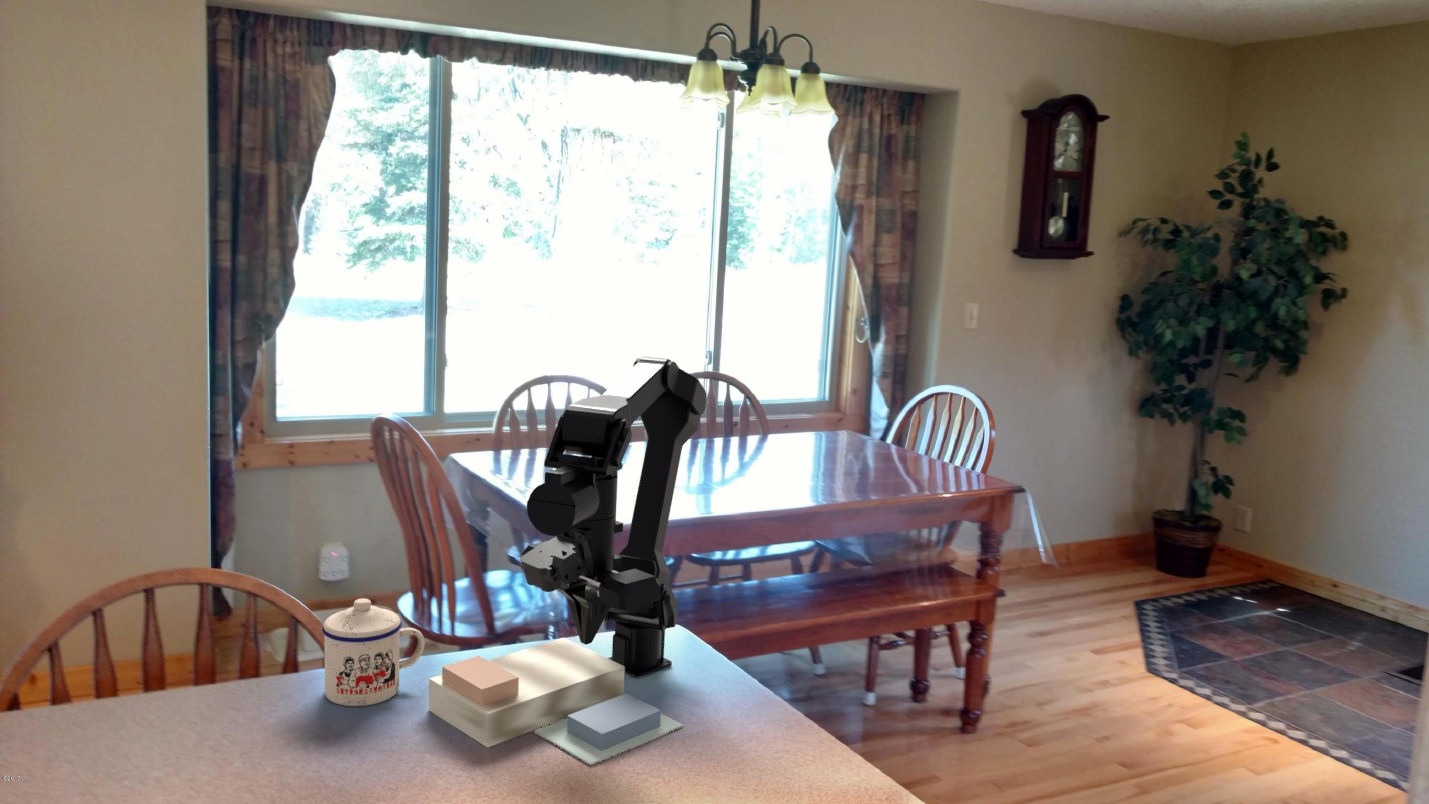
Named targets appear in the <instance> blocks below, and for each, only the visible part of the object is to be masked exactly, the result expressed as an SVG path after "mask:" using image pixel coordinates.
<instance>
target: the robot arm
mask: <svg viewBox="0 0 1429 804" xmlns="http://www.w3.org/2000/svg"><path fill="white" fill-rule="evenodd" d="M705 389H706V388H704V386H703V385H702V383H701V381H700V380H699V379H698V378H697V377H695V376H693V375H692V374H690V373H689V372H686V371H684V370H683V369H682V368H680V367H679V366H678V364H677V363H676V362H675V361H673V360H671V359H669V358H661V357H650V356H642V357H641V358H636V359H635V361H634V363H633V365H632V367H631V368H630V369H629V371H627V372H626V373H625V374H623V376H621V377H620V378H619V379H618V380H617V381H616V382H615V383H613V385H611V386H610V387H609V388H608V389H607V390H605V392H604V393H602V394H601V395H598V396H593V397H587V398H586V397H585V398H581V399H580V400H577V401H575V402H573V403H571V404H569V405H568V406H567V407H566V409H565V410H564V411H563V413H562V414H561V415H560V417H559V419H558V422H557V425H556V427H555V430H554V434H553V436H552V439H551V442H550V445H549V447H548V450H547V451H548V452H547V454H546V457H545V459H544V463H543V466H544V468H550V470H548V471H545V473H544V483H542V484H540V485H537V486H536V487H535V488H534V489H533V490H532V492H530V494H529V497H528V500H527V501H526V512H527V516H528V519H529V521H530V523H531V524H532V526H533V527H534V528H535V529H536V530H537V531H538V532H540V533H541V534H542V535H543V534H544V535H546V536H551V537H552V538H551V539H549V540H546V541H542V542H538V543H537V542H536V543H534V544H532V543H531V544H528V545H527V546H526V548H525V549H524V550H523V552H522V553H521V557H520V559H519V561H520V564H521V567H520V568H521V570H522V571H523V574H524V578H525V580H526V584H527V585H528V586H534V587H536V588H539V589H540V590H541V591H542V592H545V593H551V592H555V591H556V590H557V591H558V592H559V593H560V594H562V596H564V597H565V599H566V601H567V604H568V606H569V610H570V612H571V614H572V617H573V618H572V619H573V622H574V625H575V628H576V631H577V635H578V638H579V641H580V643H581V644H583V645H590V644H592V642H594V639H595V638H596V635H597V634H598V632H599V630H600V628H601V626H602V624H603V622H604V621H605V622H614V625H615V626H614V634H612V647H611V649H612V650H611V656H610V657H607V658H608V659H610V660H612V661H614V662H616V663H618V664H620V665H623V666H625V671H624V673H625V674H628V675H630V676H632V677H634V678H641V677H643V676H647V675H649V674H653V673H654V672H657V671H658V672H659V671H661V670H663V669H665V668H668V667H671V666H672V663H673V662H672V660H669V659H668V658H665V641H666V640H665V639H666V638H665V637H666V635H665V634H666V630H667V629H670V628H675V627H676V625H677V624H676V623H677V616H678V614H679V612H678V608H679V603H678V601H677V599H676V597H675V595H674V593H673V591H672V589H671V587H670V582H671V581H670V580H671V572H670V569H669V566H668V563H667V561H666V558H665V556H664V554H663V551H664V547H665V540H666V534H667V529H668V525H669V518H670V513H671V508H672V503H673V502H672V501H673V497H674V493H675V488H676V481H677V477H678V476H677V475H678V470H679V466H680V462H681V461H680V460H681V455H682V450H683V446H684V445H685V444H686V443H687V442H688V440H690V438H691V437H692V436H693V435H694V434H695V433H696V432H697V430H698V429H699V426H700V422H701V417H702V416H703V414H704V413H705V410H706V407H707V403H708V402H707V400H708V399H707V398H708V397H707V391H706V390H705ZM638 418H641V422H642V425H643V427H644V430H645V433H646V435H647V441H646V447H645V452H644V457H643V463H642V467H641V472H640V478H639V482H638V488H637V493H636V497H635V502H634V503H635V504H634V507H633V513H632V519H631V522H630V523H631V524H630V529H629V532H628V533H629V534H628V536H627V537H628V539H627V543H626V545H625V546H624V547H623V549H622V550H621V551H619V553H618V554H615V551H616V550H615V549H616V548H615V546H616V534H618V533H623V532H624V523H623V522H620V521H618V520H617V519H616V518H617V499H618V473H619V472H618V471H620V470H622V469H623V463H622V461H623V459H624V456H625V454H626V452H627V449H628V447H629V445H630V443H631V442H632V435H633V434H632V431H631V430H632V428H631V427H632V425H633V424H634V422H636V421H637V420H638ZM565 452H566V453H567V454H566V453H565ZM553 469H554V470H553Z"/></svg>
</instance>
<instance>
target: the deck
mask: <svg viewBox="0 0 1429 804" xmlns="http://www.w3.org/2000/svg"><path fill="white" fill-rule="evenodd" d="M608 658H609V657H605V656H604V655H601V654H600V653H597V652H595V651H593V650H591V649H589V648H586V647H584V646H583V645H582V644H581V645H580V644H578V643H577V642H574V641H572V640H569V639H568V638H566V637H561V638H557V639H555V640H551V641H546V642H545V643H541V644H537V645H534V646H531V647H528V648H524V649H521V650H517V651H515V652H511V653H509V654H508V653H507V654H505V655H502V656H498V657H495V658H492V659H489V660H488V659H487V660H488V661H489V662H491V663H493V664H495V665H497V666H499V667H501V668H502V669H504V670H506V671H508V672H510V673H512V674H513V675H515V676H517V677H519V689H518V694H516V695H513V696H510V697H507V698H505V699H502V700H499V701H496V702H493V703H490V704H487V705H484V706H480V705H479V704H477V703H475V702H474V701H472V700H470V699H469V698H467V697H465V696H464V695H462V694H460V693H458V692H457V691H455V690H453V689H452V688H450V687H448V686H447V685H445V684H443V683H442V674H438V675H435V676H433V677H430V678H428V711H430V712H431V713H432V714H434V715H435V716H436V717H438V718H440V719H442V720H444V721H445V722H446V723H448V724H450V725H451V726H453V727H454V728H456V729H458V730H459V731H461V732H462V733H464V734H466V735H467V736H469V737H470V738H471V739H473V740H475V741H477V742H478V743H480V744H481V745H482V746H484V747H486V748H490V747H494V746H495V745H499V744H501V743H504V742H506V741H509V740H512V739H515V738H517V737H519V736H520V737H521V736H523V735H526V734H528V733H530V732H533V731H534V730H537V729H539V728H541V727H545V726H547V725H549V724H553V723H555V722H558V721H559V720H560V721H561V720H562V719H565V718H567V717H568V715H570V714H573V713H575V712H578V711H581V710H583V709H586V708H589V707H591V706H594V705H596V704H599V703H602V702H604V701H607V700H610V699H612V698H615V697H618V696H620V695H623V694H625V689H624V688H625V672H624V671H625V666H623V665H620V664H618V663H616V662H614V661H612V660H610V659H608Z"/></svg>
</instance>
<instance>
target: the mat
mask: <svg viewBox="0 0 1429 804" xmlns="http://www.w3.org/2000/svg"><path fill="white" fill-rule="evenodd" d="M681 727H682V728H683V727H684V724H682V723H681V722H678V721H676V720H675V719H673V718H670V717H668V716H667V715H664V714H663V713H661V720H660V727H658V728H655V729H653V730H651V731H648V732H646V733H643V734H641V735H639V736H636V737H634V738H631V739H629V740H627V741H624V742H622V743H620V744H617V745H615V746H612V747H610V748H608V749H605V750H603V751H600V750H599V749H597V748H595V747H593V746H591V745H590V744H588V743H586V742H584V741H583V740H581V739H579V738H577V737H575V736H574V735H572V734H570V733H568V732H567V718H566V719H563V720H560V721H558V722H555V723H552V724H550V725H547V726H544V727H542V728H539V729H536V730H534V734H536V735H538V736H539V737H541V738H542V739H544V740H546V741H547V740H548V741H547V742H549V741H550V742H549V743H551V742H552V743H553V744H552V743H551V744H552V745H554V746H556V745H557V746H558V748H559V747H560V748H559V749H561V750H563V749H564V750H565V751H564V750H563V751H564V752H566V751H567V752H566V753H568V752H569V753H570V754H569V753H568V754H569V755H571V756H573V757H574V756H575V757H574V758H576V757H577V758H576V759H578V758H579V759H581V760H582V761H581V760H580V761H581V762H583V761H584V762H583V763H584V764H586V763H588V764H589V765H588V764H587V765H588V766H590V765H592V764H594V765H596V764H595V763H597V762H599V763H601V762H603V761H602V760H604V761H606V760H608V759H611V758H612V757H611V756H613V757H615V756H618V755H619V754H618V753H620V754H622V753H621V752H623V753H625V752H626V751H625V750H627V751H629V750H628V749H630V750H632V749H634V748H636V747H639V746H642V745H644V744H646V743H649V742H650V741H653V740H655V739H657V738H661V737H662V736H665V735H668V734H670V733H671V731H672V732H674V730H675V729H677V730H679V729H681ZM678 728H679V729H678ZM675 731H676V730H675ZM669 732H670V733H669ZM648 741H649V742H648ZM557 746H556V747H557ZM624 751H625V752H624ZM617 754H618V755H617ZM610 757H611V758H610ZM607 758H608V759H607ZM579 759H578V760H579ZM605 759H606V760H605ZM597 764H598V763H597ZM592 766H593V765H592Z"/></svg>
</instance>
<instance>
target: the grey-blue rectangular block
mask: <svg viewBox="0 0 1429 804" xmlns="http://www.w3.org/2000/svg"><path fill="white" fill-rule="evenodd" d="M661 714H662V710H661V709H659V708H657V707H655V706H653V705H651V704H649V703H647V702H644V701H643V700H641V699H638V697H635V696H633V695H630V694H629V693H627V692H626V693H624V694H623V695H620V696H618V697H615V698H612V699H610V700H607V701H604V702H602V703H599V704H596V705H594V706H591V707H589V708H586V709H583V710H581V711H578V712H575V713H573V714H570V715H568V717H567V732H568V733H570V734H572V735H574V736H575V737H577V738H579V739H581V740H583V741H584V742H586V743H588V744H590V745H591V746H593V747H595V748H597V749H599V750H600V751H603V750H605V749H608V748H610V747H612V746H615V745H617V744H620V743H622V742H624V741H627V740H629V739H631V738H634V737H636V736H639V735H641V734H643V733H646V732H648V731H651V730H653V729H655V728H658V727H660V720H661Z"/></svg>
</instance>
